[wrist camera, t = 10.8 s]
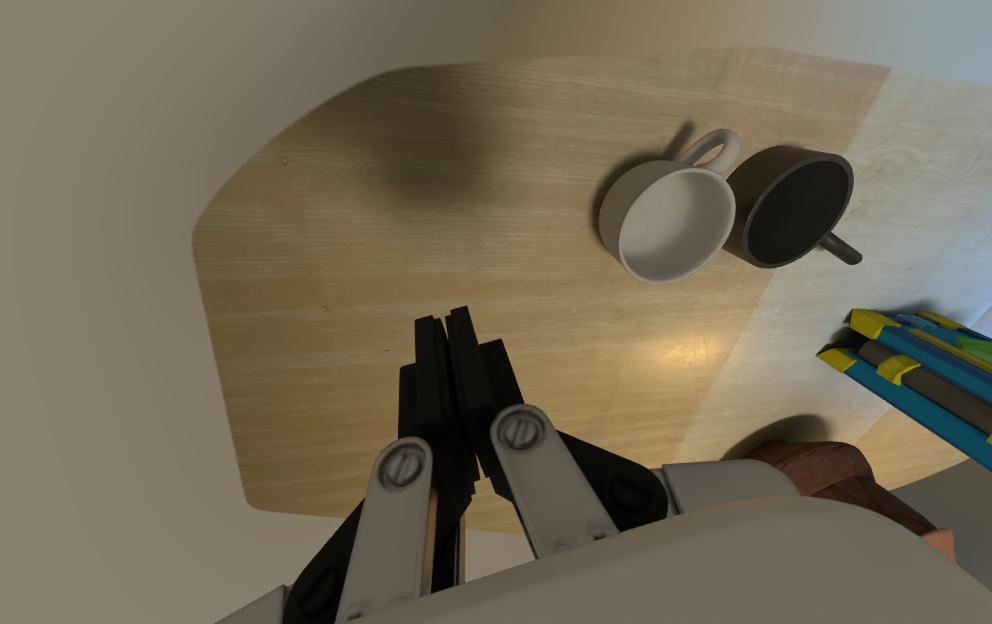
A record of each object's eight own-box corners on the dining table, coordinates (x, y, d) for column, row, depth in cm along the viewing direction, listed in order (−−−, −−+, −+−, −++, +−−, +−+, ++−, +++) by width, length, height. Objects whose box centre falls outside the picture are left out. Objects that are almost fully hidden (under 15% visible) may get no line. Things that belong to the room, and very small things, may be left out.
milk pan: (767, 124, 35) (815, 130, 31) (862, 205, 44) (909, 218, 39) (689, 230, 40) (720, 247, 36) (787, 284, 49) (822, 303, 44)
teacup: (627, 269, 42) (667, 304, 35) (564, 220, 37) (598, 250, 30) (721, 167, 37) (788, 185, 30) (664, 95, 32) (730, 98, 25)
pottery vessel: (686, 489, 77) (813, 677, 53) (759, 408, 65) (970, 605, 41) (766, 486, 86) (909, 648, 61) (845, 414, 73) (1064, 580, 49)
